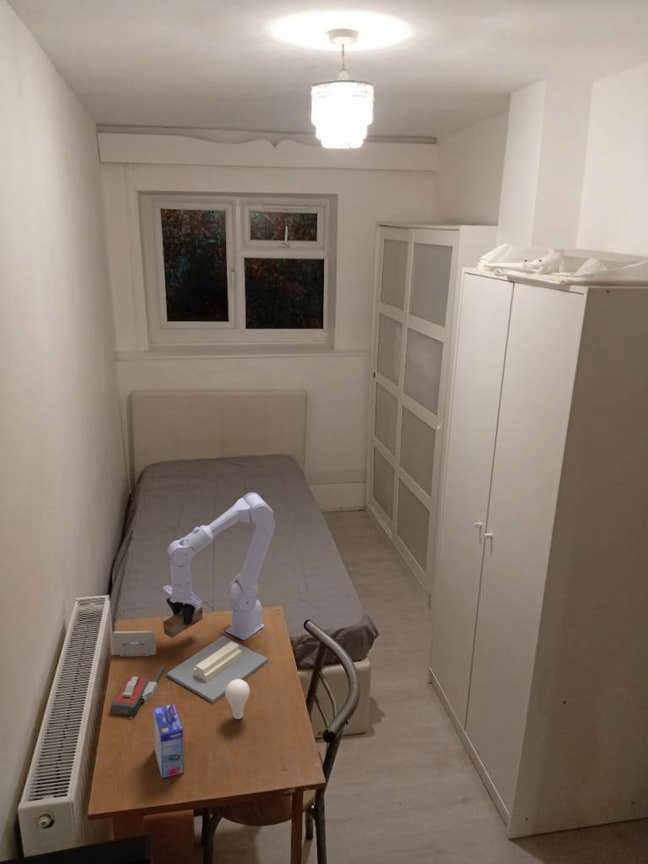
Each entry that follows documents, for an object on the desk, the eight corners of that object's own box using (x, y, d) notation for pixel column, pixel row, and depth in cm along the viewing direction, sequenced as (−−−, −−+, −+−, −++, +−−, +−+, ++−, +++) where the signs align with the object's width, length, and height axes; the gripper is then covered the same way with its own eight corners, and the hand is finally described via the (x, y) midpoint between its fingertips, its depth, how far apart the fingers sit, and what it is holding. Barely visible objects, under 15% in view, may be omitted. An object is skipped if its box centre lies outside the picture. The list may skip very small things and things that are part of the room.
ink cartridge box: (186, 773, 151) (183, 721, 147) (161, 780, 149) (158, 727, 145) (177, 743, 160) (174, 693, 155) (154, 749, 158) (150, 699, 153)
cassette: (113, 657, 191) (111, 634, 189) (115, 653, 193) (112, 630, 191) (155, 656, 192) (153, 633, 190) (156, 652, 194) (154, 629, 191)
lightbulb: (240, 706, 172) (239, 670, 169) (255, 718, 168) (254, 682, 165) (221, 717, 168) (220, 681, 165) (235, 730, 164) (234, 693, 161)
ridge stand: (222, 638, 200) (222, 625, 199) (267, 661, 190) (267, 648, 189) (167, 676, 183) (166, 662, 182) (213, 703, 173) (212, 689, 172)
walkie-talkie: (141, 720, 167) (167, 670, 186) (140, 706, 166) (166, 657, 185) (108, 717, 168) (137, 668, 187) (106, 703, 167) (136, 654, 186)
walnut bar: (194, 614, 201) (194, 603, 200) (202, 618, 199) (202, 607, 198) (164, 633, 192) (163, 621, 190) (172, 637, 190) (171, 625, 188)
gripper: (153, 578, 192) (156, 619, 196) (188, 594, 184) (190, 636, 188) (172, 569, 197) (174, 608, 201) (206, 584, 189) (208, 625, 193)
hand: (183, 621), depth 195 cm, fingers closed on walnut bar, 3 cm apart
